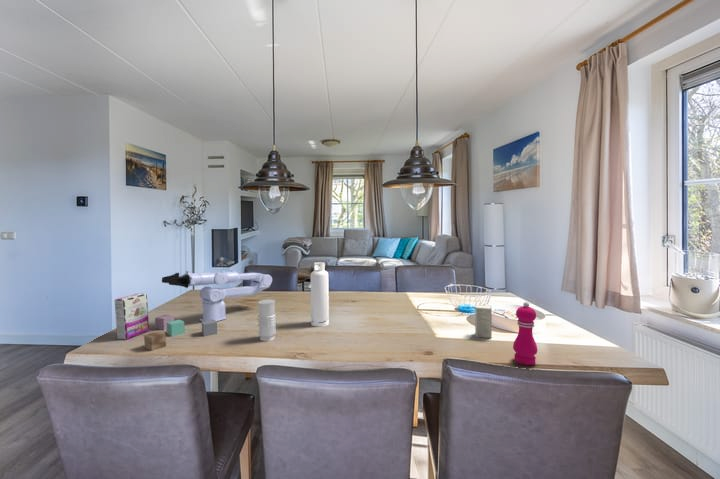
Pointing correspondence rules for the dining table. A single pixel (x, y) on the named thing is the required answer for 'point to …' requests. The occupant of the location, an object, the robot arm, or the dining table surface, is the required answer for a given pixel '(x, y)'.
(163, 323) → the plum block
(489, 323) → the skincare box
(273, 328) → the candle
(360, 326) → the dining table surface
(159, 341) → the walnut block
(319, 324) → the bottle
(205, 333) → the charcoal block
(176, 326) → the teal block
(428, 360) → the dining table surface
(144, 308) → the candy bar box
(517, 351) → the pepper mill
